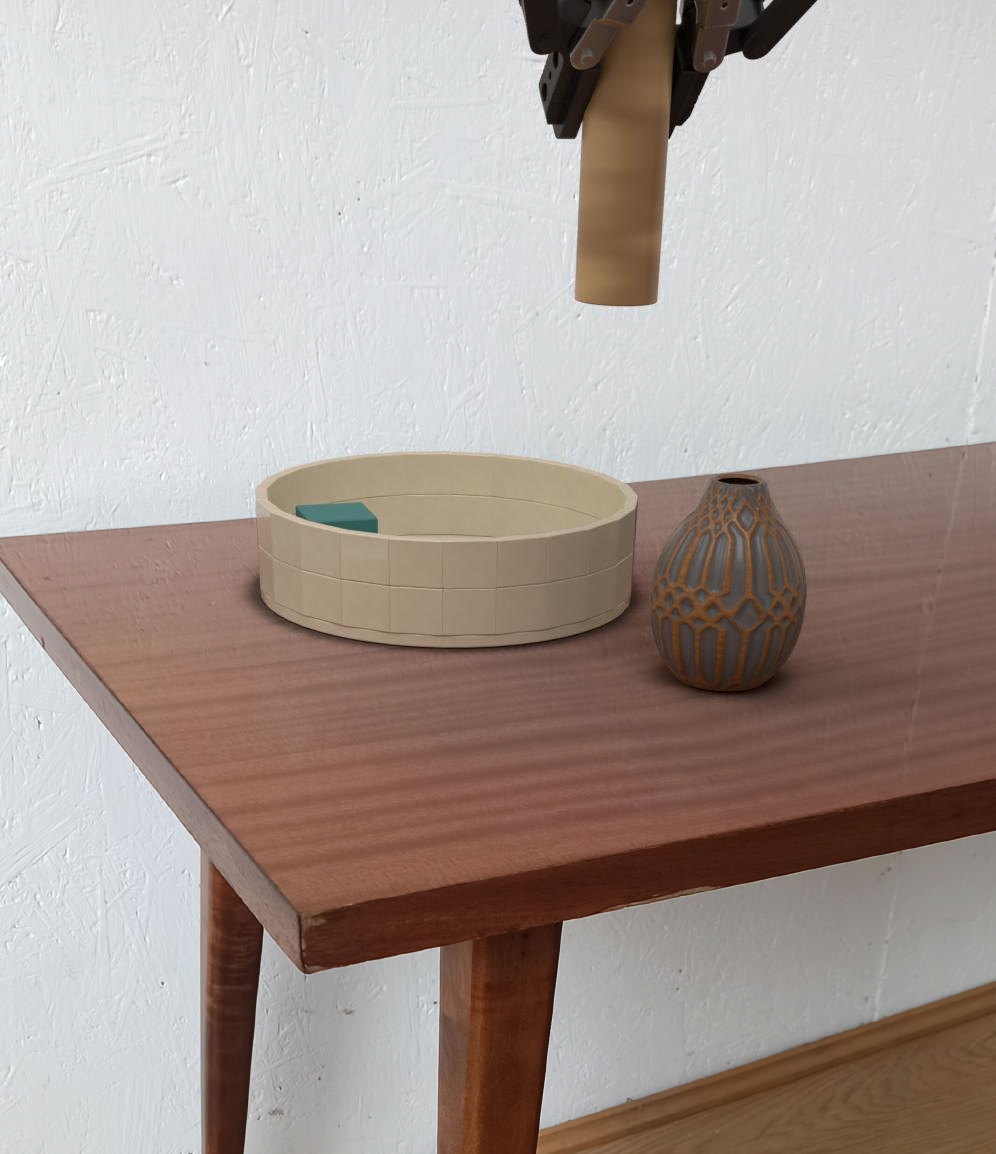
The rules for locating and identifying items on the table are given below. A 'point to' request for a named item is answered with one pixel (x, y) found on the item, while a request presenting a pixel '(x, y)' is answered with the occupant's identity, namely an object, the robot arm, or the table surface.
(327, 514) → the block
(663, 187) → the stick
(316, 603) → the bowl
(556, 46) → the robot arm
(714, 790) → the table surface
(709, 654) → the vase
